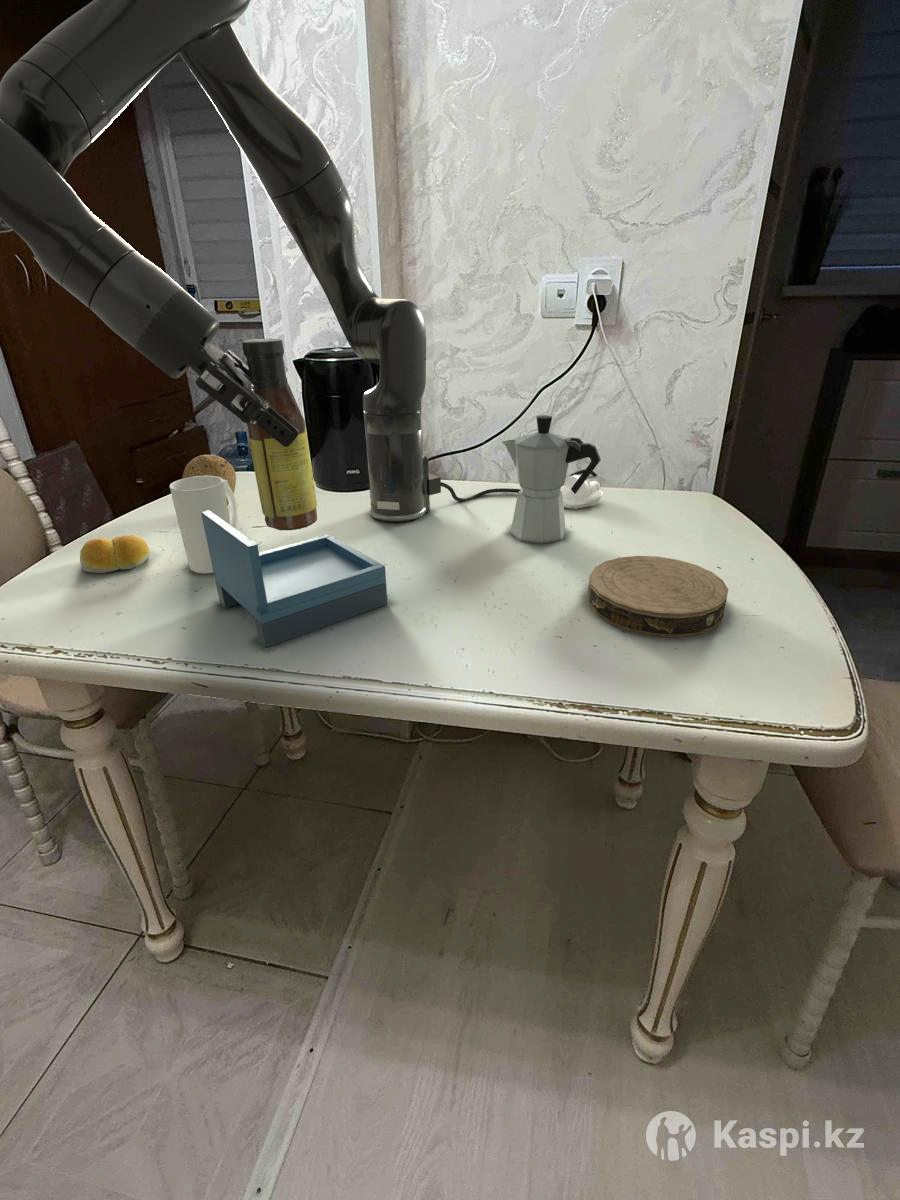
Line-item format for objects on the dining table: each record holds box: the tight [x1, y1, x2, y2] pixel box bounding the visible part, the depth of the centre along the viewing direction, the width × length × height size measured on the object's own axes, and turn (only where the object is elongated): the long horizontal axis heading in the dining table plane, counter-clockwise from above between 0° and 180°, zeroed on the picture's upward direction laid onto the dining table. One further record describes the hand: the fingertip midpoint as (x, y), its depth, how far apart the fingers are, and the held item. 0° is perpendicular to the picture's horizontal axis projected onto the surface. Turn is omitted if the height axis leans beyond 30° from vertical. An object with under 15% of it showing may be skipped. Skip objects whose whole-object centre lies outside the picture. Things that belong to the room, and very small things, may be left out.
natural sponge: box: [181, 454, 237, 507], centre depth 107 cm, size 9×9×10 cm
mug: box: [168, 476, 238, 575], centre depth 87 cm, size 10×7×12 cm, turn 159°
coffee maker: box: [500, 414, 602, 544], centre depth 93 cm, size 15×9×18 cm, turn 68°
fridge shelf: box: [201, 510, 389, 648], centre depth 75 cm, size 16×14×12 cm
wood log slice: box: [587, 555, 729, 638], centre depth 75 cm, size 16×16×3 cm
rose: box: [560, 474, 603, 510], centre depth 111 cm, size 10×4×10 cm
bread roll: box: [79, 534, 151, 574], centre depth 89 cm, size 8×9×4 cm
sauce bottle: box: [241, 337, 318, 531], centre depth 68 cm, size 7×6×20 cm
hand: (294, 432), depth 68 cm, fingers closed on sauce bottle, 6 cm apart
